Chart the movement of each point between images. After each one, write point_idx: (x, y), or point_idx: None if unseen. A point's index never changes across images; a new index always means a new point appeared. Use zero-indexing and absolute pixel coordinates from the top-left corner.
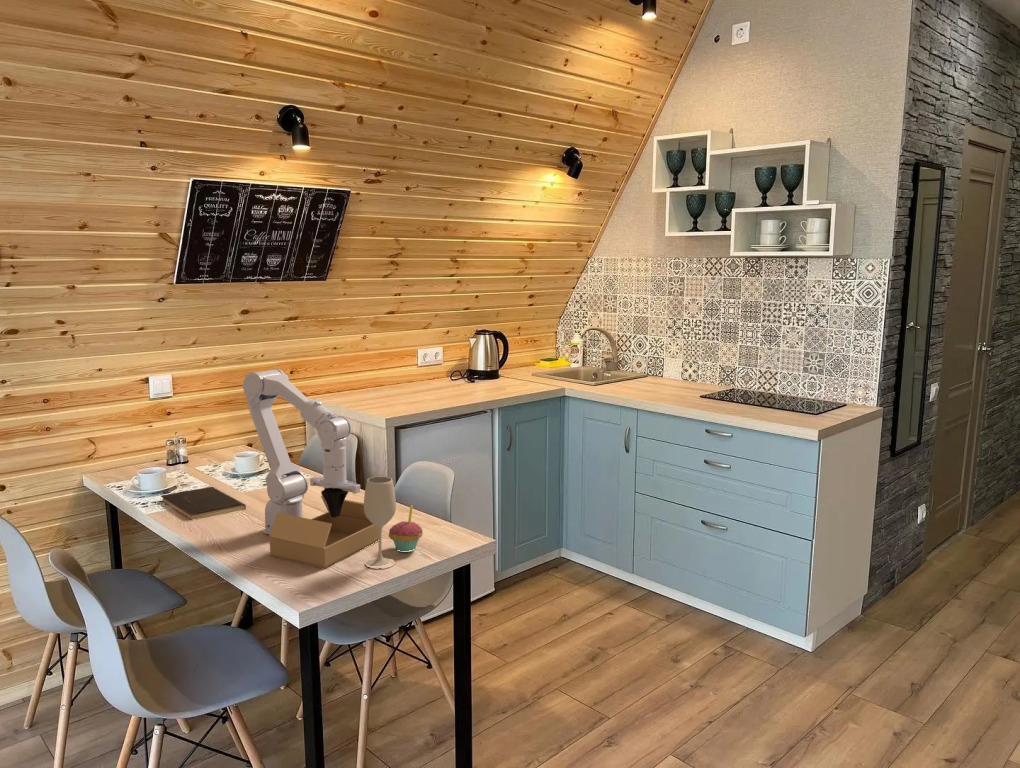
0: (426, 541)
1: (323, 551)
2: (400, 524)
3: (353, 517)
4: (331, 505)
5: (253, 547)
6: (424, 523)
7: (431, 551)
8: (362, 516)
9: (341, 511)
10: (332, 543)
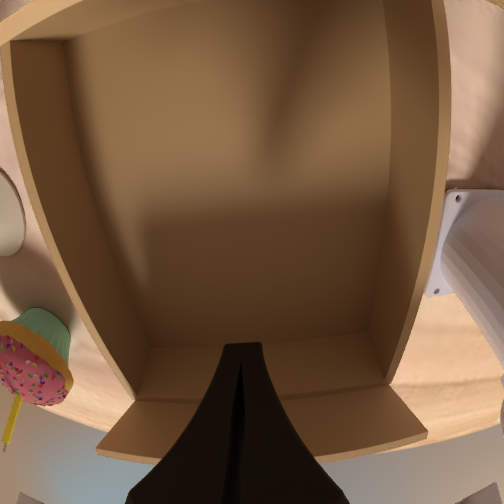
0: (74, 379)
1: None
2: (13, 379)
3: None
4: (245, 414)
5: (496, 61)
6: None
7: None
8: None
9: (316, 407)
10: (240, 239)
